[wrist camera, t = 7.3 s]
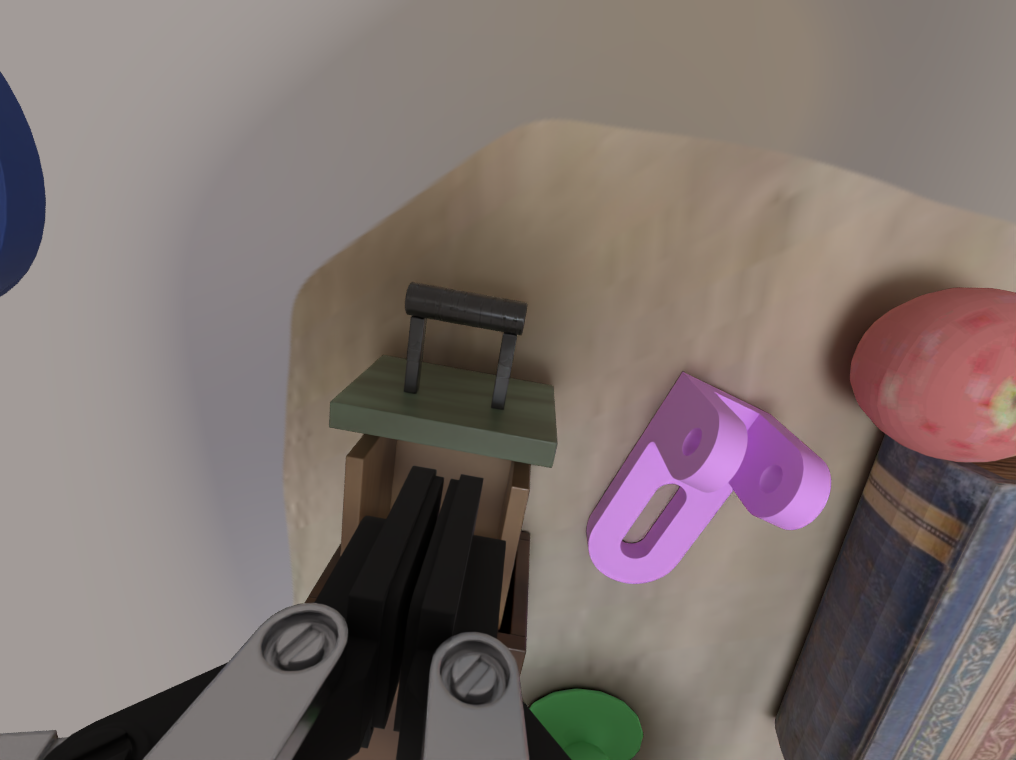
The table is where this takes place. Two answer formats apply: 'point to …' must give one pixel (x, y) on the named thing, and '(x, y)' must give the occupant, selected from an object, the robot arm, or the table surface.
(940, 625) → the book
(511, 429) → the drawer
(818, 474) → the bracket
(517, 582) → the cabinet
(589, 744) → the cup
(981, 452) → the apple
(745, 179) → the table surface
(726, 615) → the table surface
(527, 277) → the table surface
